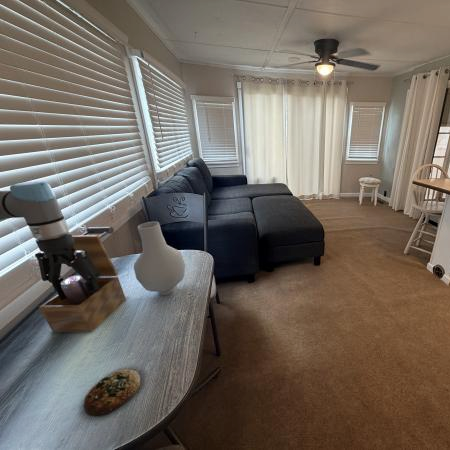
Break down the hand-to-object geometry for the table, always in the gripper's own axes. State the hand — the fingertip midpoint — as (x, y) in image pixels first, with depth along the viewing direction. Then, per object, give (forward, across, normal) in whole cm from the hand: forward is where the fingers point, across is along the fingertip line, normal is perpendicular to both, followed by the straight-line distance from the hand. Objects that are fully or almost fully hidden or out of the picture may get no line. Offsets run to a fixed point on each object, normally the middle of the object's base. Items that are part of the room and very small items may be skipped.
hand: (81, 297), depth 78 cm
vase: (+9, +18, +15) cm, 26 cm away
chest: (+9, 0, +1) cm, 9 cm away
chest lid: (-11, 0, +8) cm, 13 cm away
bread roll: (+9, +28, -25) cm, 38 cm away
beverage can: (+8, 0, 0) cm, 8 cm away
